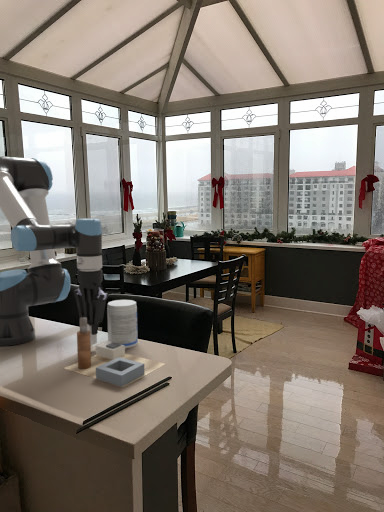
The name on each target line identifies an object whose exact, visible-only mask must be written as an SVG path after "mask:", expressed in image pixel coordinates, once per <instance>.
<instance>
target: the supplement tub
mask: <svg viewBox="0 0 384 512" xmlns="http://www.w3.org/2000/svg"><path fill="white" fill-rule="evenodd" d="M106 309H107V310H106V314H107V315H106V316H107V338H108V340H107V341H109V342H114V343H118V344H121V345H125V349H130V348H134V347H135V346H137V345H138V342H139V341H138V339H139V338H138V307H137V301H135V300H133V299H115V300H112V301H108V303H107V308H106Z"/></svg>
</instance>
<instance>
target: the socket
mask: <svg viewBox="0 0 384 512" xmlns="http://www.w3.org/2000/svg"><path fill="white" fill-rule="evenodd" d="M143 375H144V364H143V363H140V362H136V361H132V360H129V359H125V358H121V357H118V358H116V359H114V360H111V361H109V362H107V363H105V364H103V365H101V366H98V367H96V379H95V380H98V379H99V381H101V380H102V382H104V381H105V383H108V384H111V385H113V386H117V387H120V386H121V387H120V388H123V386H124V385H126V384H128V383H130V382H132V381H134V380H135V379H137V378H139V377H141V376H143ZM143 377H144V376H143ZM134 382H135V381H134Z"/></svg>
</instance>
